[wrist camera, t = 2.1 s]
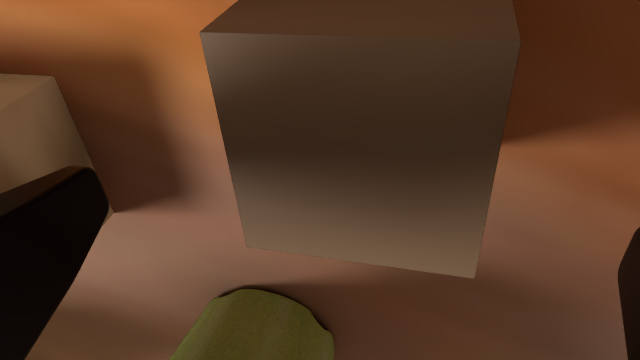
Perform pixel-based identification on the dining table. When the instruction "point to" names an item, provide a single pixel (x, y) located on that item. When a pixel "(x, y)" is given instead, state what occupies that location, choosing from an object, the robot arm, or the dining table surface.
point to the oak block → (36, 131)
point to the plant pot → (255, 330)
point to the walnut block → (364, 124)
